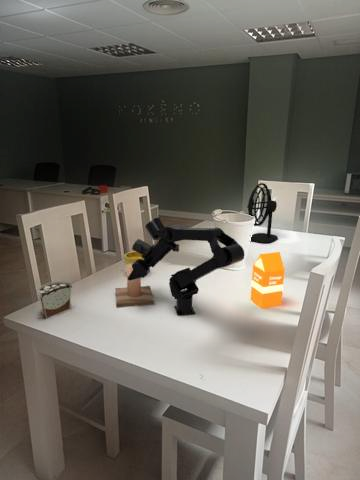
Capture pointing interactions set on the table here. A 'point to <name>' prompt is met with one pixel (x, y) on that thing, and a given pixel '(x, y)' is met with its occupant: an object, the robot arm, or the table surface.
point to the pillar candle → (133, 283)
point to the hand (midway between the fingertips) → (132, 275)
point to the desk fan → (269, 207)
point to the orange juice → (267, 280)
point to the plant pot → (132, 257)
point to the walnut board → (126, 300)
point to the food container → (55, 297)
